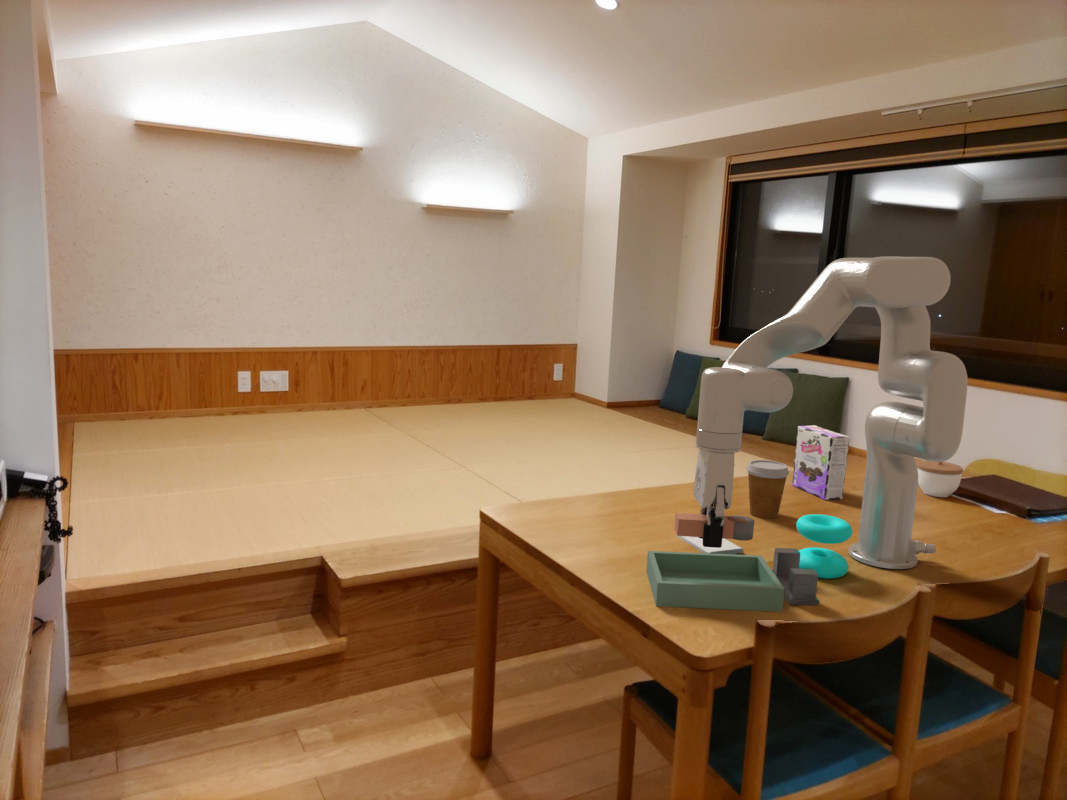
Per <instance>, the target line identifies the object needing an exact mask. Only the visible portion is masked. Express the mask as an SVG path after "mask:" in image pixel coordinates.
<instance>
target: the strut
mask: <svg viewBox="0 0 1067 800" xmlns="http://www.w3.org/2000/svg"><path fill="white" fill-rule="evenodd" d="M706 517H707V515H704V514H701V513H700V514H699V513H687V512H686V513H682V512H675V519H674V528H673V529H674V531H675V535H676V534H677V536H689V537H703V532H704V524H706ZM754 529H755V519H753V518H751V517H749V516H744V515H738V514H737V515H734V514H733V515H724V526H723V537H722V538H724V539H726V540H728V539H729V540H736V541H742V542H743V541H744V542H746V541H752V540H753V538H754Z"/></svg>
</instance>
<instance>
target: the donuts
mask: <svg viewBox="0 0 1067 800" xmlns="http://www.w3.org/2000/svg"><path fill="white" fill-rule="evenodd" d="M795 525H796V529H797V532H798V533H799V534H800V535H801V536H802V537H804V538H805V539H807V540H809V541H811V542H815V543H819V544H826V545H827V544H829V545H835V544H842V543H844V542H846V541H848V540H849V539H850V538H851V537H852V535H853V528H852V525H851V524H850V523H848V522H847V521H846V520H844V519H843V518H839V517H837V516H832V515H827V514H816V513H815V514H813V513H812V514H804V515H802V516H801V517H799V518H798V519H797V521H796V524H795ZM798 551H799V552H800V563H799V569H814V570H815V571H816V573H817V574H818V579H838V578H842V577H843V576H845V575H846V574H847V573H848V571H849V563H848V561H847V559H846V558H845V557H844V556H843V555H842V554H840V553H838V552H837V551H834V550H832V549H828V548H823V547H816V546H815V547H805V548H802V549H800V550H799V549H798Z"/></svg>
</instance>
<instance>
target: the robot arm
mask: <svg viewBox="0 0 1067 800" xmlns="http://www.w3.org/2000/svg"><path fill="white" fill-rule="evenodd" d="M951 278H952V277H951V272H950V270H949V267H948V266H947V264H946V263H945V262H944V261H943V260H942V259H939V258H937V257H934V256H898V255H897V256H894V255H893V256H885V255H884V256H876V257H843V258H838V259H835V260H833V261H832V262H830V263H829V264H828V265H827V266H826V267H825V268H824V269H823V270H822V271H821V273H820V274H819V275H818V276H817V277H816V279H815V280H814V281H813V282H812V283H811V284H810V285H809V287H808V289H806V291H804V293H803V294H802V295H801V297H800V298H799V299H798V300H797V302H795V304H794V305H793V307H792V308H791V309H790V310H789V311H788V312H787V313H785V314H784V315H783V316H781V317H779V318H777V319H776V320H773V321H772V322H770V323H769V324H767V325H765V326H764V327H762V328H761V329H759V330H757V331H755V332H753V333H752V334H750V336H748V337H747V338H745V339H744V340H743V341H742V342H741V343H740V344H739V345H738V346H737V347H736V349H735V350H733V352H732V353H731V354H730V355H729V356H728V358H727V359H726V360H725V362H724V363H723V364H722V366H713V367H707V368H705V369H704V370H703V371H702V373H701V377H700V379H701V380H700V388H699V389H700V390H699V399H698V400H699V401H698V413H697V414H698V415H697V427H696V439H695V448H697V449H698V454H697V460H696V465H695V466H696V467H695V475H694V481H693V483H694V484H693V496H694V497H695V500H696V501H697V503H698V505H699V506H700V514H704V515H707V517H706V524H704V532H703V537H699V538H701V539H703V546H704V547H715V548H720V547H721V546H722V537H723V526H724V516H725V513H726V512H725V510H726V511H727V510H729V509H730V508H731V506H732V500H733V489H734V475H735V454H736V453H739V452H741V447H742V437H743V427H744V417H745V416H744V415H745V412H746V411H753V412H759V413H760V412H761V413H775V412H778V411H781V410H782V409H784V408H786V407H787V406H788V405H789V403H790V401H792V398H793V395H794V386H793V383H792V381H791V379H790V377H789V376H788V375H787V374H785V373H784V372H783V371H780V370H777V369H775V368H770V367H769V366H771V365H772V364H773V363H776V362H777V361H778V360H781V359H783V358H787V357H789V356H792V355H797V354H801V353H804V352H808V351H811V350H815V349H817V348H820V347H823V346H824V345H826V344H827V343H828V342H829V341H830V340H831V338H832V337H833V336H834V335H835V333H837V331H838V329H840V327H841V326H842V325H843V323H844V322H845V321H846V320H847V318H849V316H850V315H851V314H852V313H853V311H854V310H855V309H856V308H858V307H866V308H875V310H876V312H877V314H878V316H879V319H880V326H881V327H880V345H879V356H878V357H879V359H878V371H877V381H878V386H879V387H880V389H881V390H882V391H883V392H885V393H887V394H890V395H892V396H897V397H900V398H906V399H910V400H916V401H919V402H922V404H923V405H922V406H920V405H915V404H909V403H904V402H897V401H884V402H881V403H878V404H876V405H875V406H873V407H872V408H871V409H870V410H869V412H868V413H867V415H866V419H865V421H864V437H865V444H866V445H865V446H866V462H865V463H866V466H865V474H864V483H863V484H864V485H863V494H862V501H861V503H862V504H861V511H860V513H861V514H860V519H859V521H860V523H859V531H858V539H857V542H854V543H852V544H850V545H849V547H848V554H849V555H850V557H851V558H853V559H854V560H856V561H858V562H860V563H863V564H866V565H867V566H868V565H869V566H872V567H876V568H881V569H887V570H888V569H889V570H907V569H912V568H914V567H915V566H917V564H918V556H917V555H919V554H921V553H922V554H923V553H924V554H933V555H934V554H936V551H937V548H936V545H935V544H934V543H924V541H922V540H916V539H914V538H912V536H913V535H912V534H913V528H914V527H913V525H914V517H915V509H916V500H917V493H918V487H919V485H918V469H917V462H916V459H915V458H917V459H920V460H922V461H924V460H928V461H932V462H947V461H948V460H951V458H953V457H954V456H955V454H956V453H957V451H958V449H959V447H960V444H961V441H962V436H963V430H964V420H965V413H966V405H967V396H968V395H967V394H968V382H969V381H968V380H969V379H968V373H967V369H966V366H965V364H964V362H963V361H962V360H961V359H960V358H959V357H958V356H957V355H955V354H953V353H949V352H947V351H946V352H945V351H939V350H932V349H931V345H930V344H931V318H930V314H929V311H928V309H927V306H931V305H934V304H936V303H939V302H940V301H941V300H942V299H943V298H944V297H945V296H946V294H948V293H947V292H948V291H949V289H950V286H951Z"/></svg>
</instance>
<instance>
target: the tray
mask: <svg viewBox="0 0 1067 800" xmlns="http://www.w3.org/2000/svg"><path fill="white" fill-rule="evenodd" d="M772 570H773V569H771V568H770V566H769V564H768V563H767V561H766V560H765V559H764V557H763V556H762V555H757V554H756V555H755V554H754V555H753V554H751V555H750V554H711V553H701V552H688V551H687V552H685V551H683V552H682V551H661V550H647V557H646V574H647V579H648V582H649V585H650V590H651V592H652V597H653V600H654V603H655V607H668V608H670V607H671V608H687V609H689V608H690V609H691V608H692V609H712V610H713V609H714V610H730V611H731V610H735V611H754V612H755V611H756V612H757V611H758V612H780V613H783V607H784V587H783V586H782V585H781V583H780V582H779V580H778V579H777V577H776V576H775V574H774V573H773V572H772Z"/></svg>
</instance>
